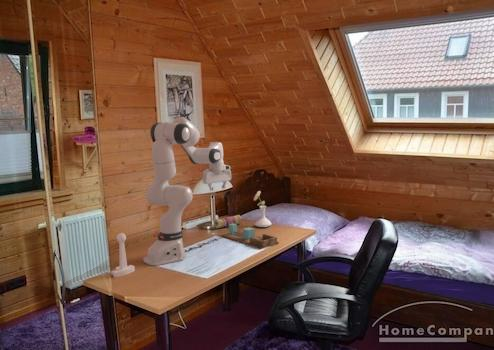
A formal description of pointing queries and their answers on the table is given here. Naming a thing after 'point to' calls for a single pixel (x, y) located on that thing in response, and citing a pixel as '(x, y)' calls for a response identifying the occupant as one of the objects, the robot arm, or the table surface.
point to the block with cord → (247, 232)
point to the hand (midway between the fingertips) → (217, 189)
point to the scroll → (227, 221)
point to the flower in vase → (262, 214)
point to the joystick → (122, 259)
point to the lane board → (254, 240)
